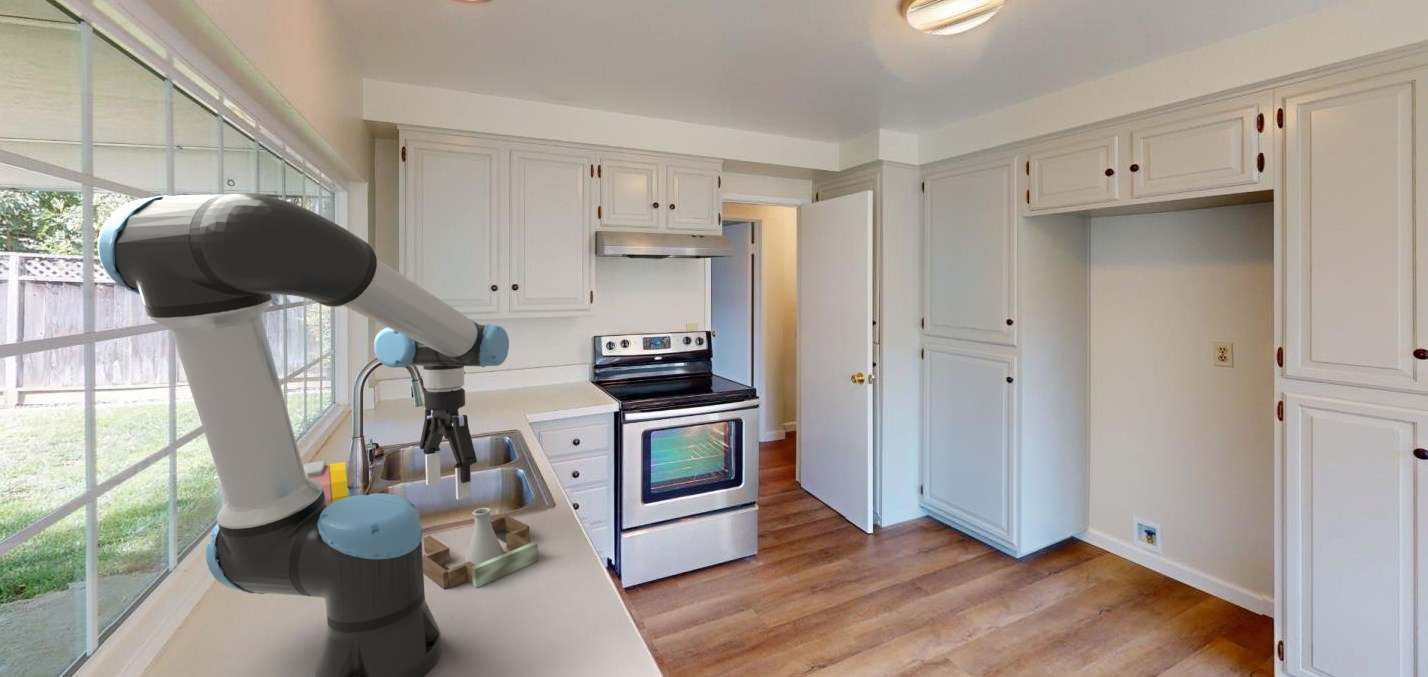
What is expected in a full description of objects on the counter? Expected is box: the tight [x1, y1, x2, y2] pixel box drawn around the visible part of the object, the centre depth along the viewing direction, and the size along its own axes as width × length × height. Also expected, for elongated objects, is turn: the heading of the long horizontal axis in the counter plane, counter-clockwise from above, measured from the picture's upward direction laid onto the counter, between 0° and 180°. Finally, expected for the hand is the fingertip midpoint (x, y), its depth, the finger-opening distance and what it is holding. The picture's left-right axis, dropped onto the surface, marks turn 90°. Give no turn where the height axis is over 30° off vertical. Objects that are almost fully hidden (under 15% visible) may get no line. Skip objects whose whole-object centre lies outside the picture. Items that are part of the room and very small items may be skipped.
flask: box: [462, 507, 506, 565], centre depth 107 cm, size 7×7×10 cm
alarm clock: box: [303, 460, 349, 505], centre depth 111 cm, size 15×8×18 cm, turn 36°
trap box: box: [423, 514, 539, 590], centre depth 109 cm, size 20×21×4 cm
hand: (448, 490), depth 115 cm, fingers open, 13 cm apart
